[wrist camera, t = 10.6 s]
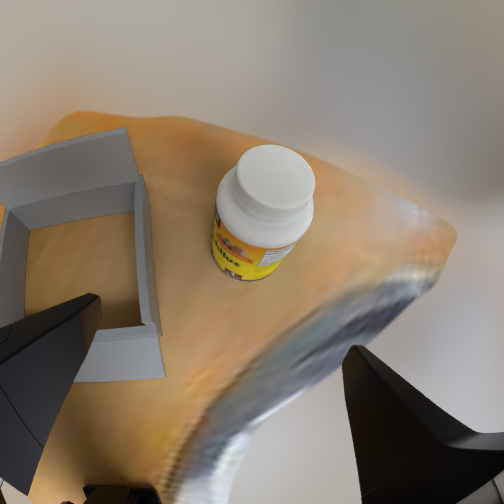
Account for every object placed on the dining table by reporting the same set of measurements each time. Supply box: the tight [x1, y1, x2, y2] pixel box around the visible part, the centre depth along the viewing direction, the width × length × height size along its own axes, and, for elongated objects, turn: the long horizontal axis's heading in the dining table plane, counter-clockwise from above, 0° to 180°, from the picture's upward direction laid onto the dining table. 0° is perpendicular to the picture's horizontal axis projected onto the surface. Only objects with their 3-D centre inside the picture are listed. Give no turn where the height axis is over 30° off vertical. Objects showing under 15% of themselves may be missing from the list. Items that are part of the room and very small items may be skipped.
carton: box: [0, 127, 166, 382], centre depth 14 cm, size 14×13×9 cm
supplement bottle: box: [211, 145, 315, 282], centre depth 17 cm, size 6×6×10 cm
